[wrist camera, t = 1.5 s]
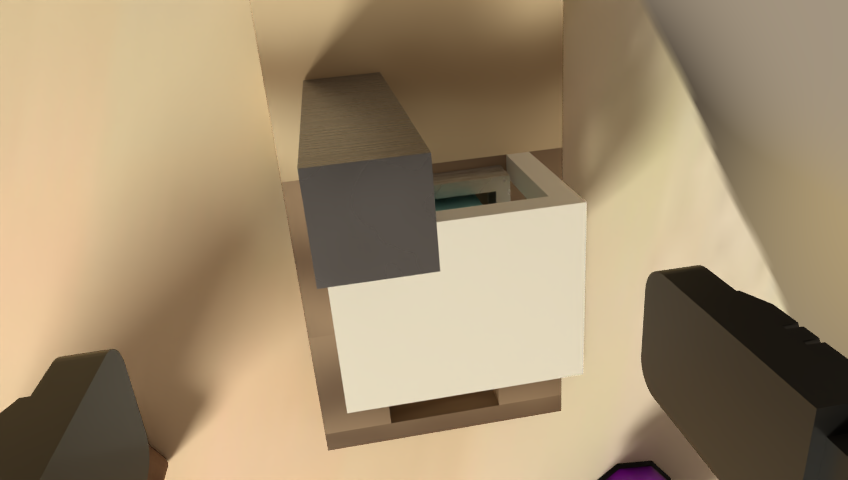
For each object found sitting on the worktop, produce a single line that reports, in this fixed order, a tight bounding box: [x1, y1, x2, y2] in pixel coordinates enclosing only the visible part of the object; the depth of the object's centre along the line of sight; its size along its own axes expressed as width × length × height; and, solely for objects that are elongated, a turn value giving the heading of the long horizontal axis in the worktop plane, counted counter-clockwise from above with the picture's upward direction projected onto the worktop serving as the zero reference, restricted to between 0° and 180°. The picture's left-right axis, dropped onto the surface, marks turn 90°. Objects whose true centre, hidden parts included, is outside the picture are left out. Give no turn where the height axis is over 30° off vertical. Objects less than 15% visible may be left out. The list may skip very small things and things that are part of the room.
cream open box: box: [328, 152, 587, 413], centre depth 26 cm, size 7×9×6 cm
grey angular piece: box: [297, 72, 511, 289], centre depth 22 cm, size 11×8×12 cm
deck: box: [249, 0, 563, 450], centre depth 30 cm, size 22×12×2 cm, turn 5°
